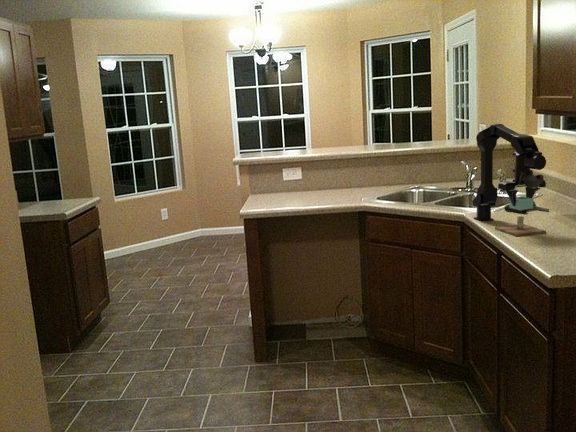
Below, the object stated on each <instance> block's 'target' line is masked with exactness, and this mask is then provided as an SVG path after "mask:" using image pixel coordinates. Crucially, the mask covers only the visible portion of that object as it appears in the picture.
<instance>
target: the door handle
mask: <svg viewBox="0 0 576 432" xmlns="http://www.w3.org/2000/svg"><path fill="white" fill-rule="evenodd" d="M504 211H506V212H512V213H516V214H521V215H525V214H527V213H528V211H538V212H544V213H549V212H550V209H549V208H546V207H542V206H537V204H536V202H535V201H534V200H533V209H525V210H518V209H514V208H510V204H507V205H505V206H504ZM548 211H549V212H548Z"/></svg>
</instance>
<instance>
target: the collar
mask: <svg viewBox="0 0 576 432" xmlns="http://www.w3.org/2000/svg"><path fill="white" fill-rule="evenodd" d="M533 201H534V198H528V197H526V196H516V204H515V206H513V205H512V203H511V201H510V200H509V205H510V208H514V209H518V210H525V209H533Z"/></svg>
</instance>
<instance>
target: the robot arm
mask: <svg viewBox="0 0 576 432" xmlns="http://www.w3.org/2000/svg"><path fill="white" fill-rule="evenodd" d="M500 138H501V139H503V140H504V141H506V142H508V143H510V146H511V147H512V148H513V149H514V150H515V151H514V152H513V153H512V154H511V155H512V156H515V163H514V164H515V165H514V169H512V172H513V173H514V179H512V181H509V180H507V181H499V183H498V184H497V187H495V185H494V183H493V180H494V179H493V178H494V174H493V173H494V172H493V170H494V165H493V163H494V161H493V160H494V159H493V158H494V156H493V155H494V154H493V153H494V151H495V148H497V144H498V140H499V139H500ZM475 139H476V145H477V147H478V149H479V151H480V185H479V186H478V188H477V190H476V195H475V197H474V198H473V199H472V201H471V204H472V207H475V208H476V217H475V216H474V217H473V219H474V220H477V221H479V222H485V221H494V218H492V207H495V206H496V204H497V199H498V197H499V196H498V195H499V194H498V190H503V191H505V193H506V194H507V196H508V199H509V202H510V201H511V203H512V205H513V206H515V204H516V197H517V193H518V192H519V190H517V188H522V187H525V197H528V198H532V199H534V195H535V193H536V192H538V190H541V188H546V186H547V182H546V181H545V180H544V179H545V178H544V175H543V174H537V175H535V174H533V173H534V172H533V170H538V171H541V170H543V169H544V168H545V167H546V165H547V159H546V157H545V156H544V155H543V152H542V151H539V147H538V146H537V143H536V141H535V139H534V136H532V135H530V134H523V133H519V132H517V131H515V130H512V129H511V128H509V127H507V126H506V125H504V124H503V123H493V124H491V125H490V126H488V127H486V128H485V129H482V130H481V131H479V132H478V133H477V135H476V137H475Z"/></svg>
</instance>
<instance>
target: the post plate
mask: <svg viewBox="0 0 576 432" xmlns="http://www.w3.org/2000/svg"><path fill="white" fill-rule="evenodd" d="M524 217H525V216H520V215H519V216H517V218H516V219H517V220H516V224H513V225H512V224H511V225H502V226H495V227H494V230H495V231H499V232H500V233H501V232H502V233H505V234H508V235H509V236H512V237H523V236H533V235H534V236H535V235H541V234H542V235H543V234H547V230H544V229H541V228H538V227H535V226H531V225H529V224H525V222H524V219H525V218H524Z"/></svg>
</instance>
